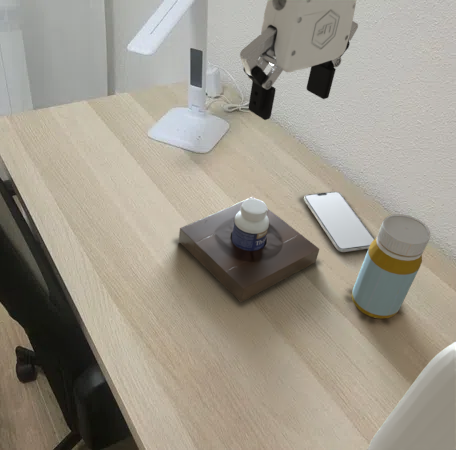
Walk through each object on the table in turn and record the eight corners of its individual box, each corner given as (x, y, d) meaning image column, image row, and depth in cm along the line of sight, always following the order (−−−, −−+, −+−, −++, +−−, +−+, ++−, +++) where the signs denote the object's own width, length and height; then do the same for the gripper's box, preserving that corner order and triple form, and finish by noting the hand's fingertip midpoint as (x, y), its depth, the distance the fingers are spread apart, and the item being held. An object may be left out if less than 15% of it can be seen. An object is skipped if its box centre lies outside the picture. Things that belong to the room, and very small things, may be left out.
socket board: (315, 262, 90) (319, 248, 88) (240, 302, 83) (243, 288, 81) (250, 209, 99) (252, 196, 98) (178, 241, 92) (179, 228, 90)
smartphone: (339, 250, 91) (302, 195, 102) (338, 253, 91) (301, 197, 102) (379, 244, 92) (339, 190, 103) (378, 247, 93) (338, 193, 104)
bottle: (359, 279, 87) (388, 205, 77) (404, 299, 84) (440, 225, 74) (343, 306, 83) (372, 231, 73) (389, 328, 80) (425, 253, 70)
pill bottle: (256, 267, 88) (266, 221, 82) (225, 256, 90) (232, 210, 84) (266, 247, 92) (276, 201, 86) (236, 237, 94) (243, 191, 87)
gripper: (284, -26, 50) (256, 138, 61) (405, -50, 57) (360, 99, 68) (231, -47, 54) (213, 109, 65) (349, -67, 62) (315, 76, 73)
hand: (288, 104), depth 67 cm, fingers open, 9 cm apart
